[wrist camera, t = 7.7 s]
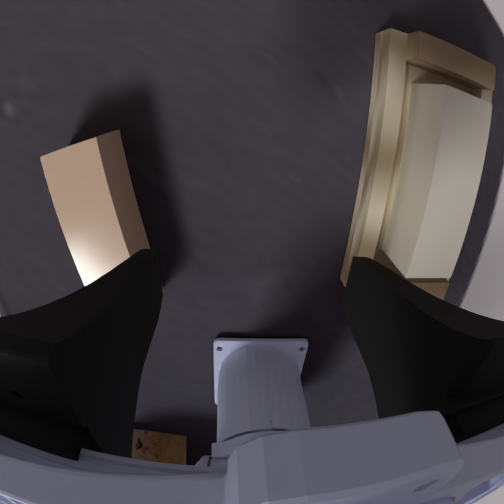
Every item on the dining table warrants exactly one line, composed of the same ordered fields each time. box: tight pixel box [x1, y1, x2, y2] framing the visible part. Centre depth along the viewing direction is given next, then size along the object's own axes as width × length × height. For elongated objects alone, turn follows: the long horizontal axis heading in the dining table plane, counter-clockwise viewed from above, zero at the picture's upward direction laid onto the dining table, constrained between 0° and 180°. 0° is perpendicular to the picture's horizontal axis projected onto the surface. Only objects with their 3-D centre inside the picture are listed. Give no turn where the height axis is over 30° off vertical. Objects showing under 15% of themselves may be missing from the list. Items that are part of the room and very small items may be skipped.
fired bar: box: [40, 130, 163, 290], centre depth 19 cm, size 12×4×4 cm, turn 8°
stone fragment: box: [132, 429, 186, 465], centre depth 32 cm, size 14×10×15 cm
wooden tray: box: [340, 28, 496, 300], centre depth 18 cm, size 18×9×4 cm, turn 176°
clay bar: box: [382, 84, 492, 278], centre depth 17 cm, size 12×4×4 cm, turn 176°
